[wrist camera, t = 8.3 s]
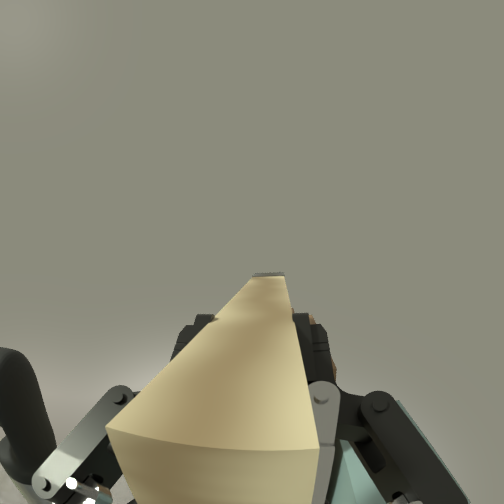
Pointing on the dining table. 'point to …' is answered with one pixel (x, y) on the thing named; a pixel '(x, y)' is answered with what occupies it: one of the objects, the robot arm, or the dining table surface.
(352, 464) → the pale teal block
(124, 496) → the dining table surface
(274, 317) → the pale wooden beam
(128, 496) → the dining table surface
